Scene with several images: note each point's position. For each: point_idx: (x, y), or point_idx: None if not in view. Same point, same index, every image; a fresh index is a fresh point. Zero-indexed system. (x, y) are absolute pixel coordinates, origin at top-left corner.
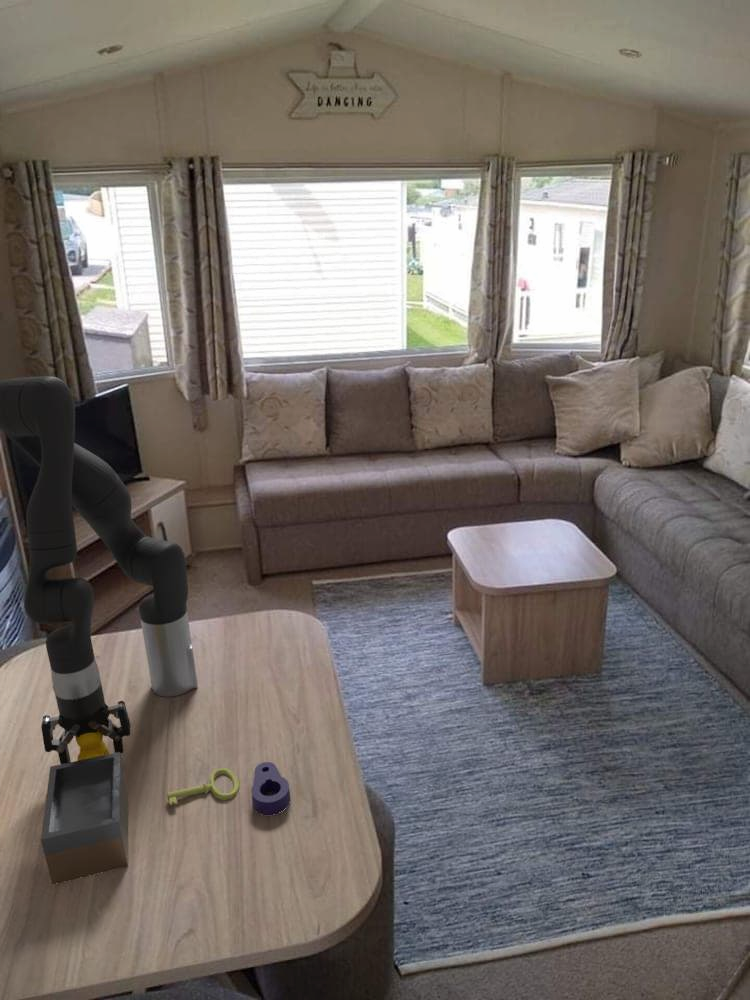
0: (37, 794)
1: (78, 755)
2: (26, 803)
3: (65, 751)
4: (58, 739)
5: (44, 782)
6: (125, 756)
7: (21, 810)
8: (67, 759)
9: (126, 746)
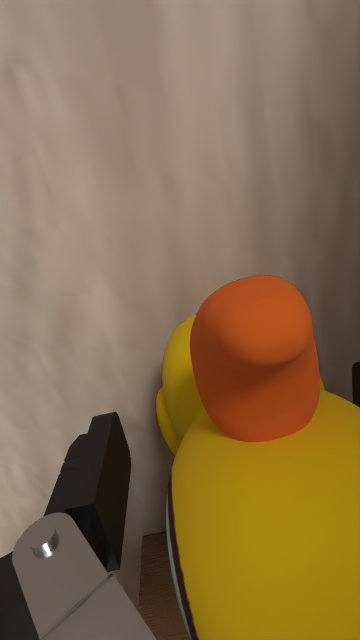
0: (24, 477)
1: (168, 442)
2: (3, 511)
3: (114, 568)
4: (15, 570)
5: (21, 422)
6: (347, 298)
7: (2, 535)
8: (124, 507)
9: (350, 223)
